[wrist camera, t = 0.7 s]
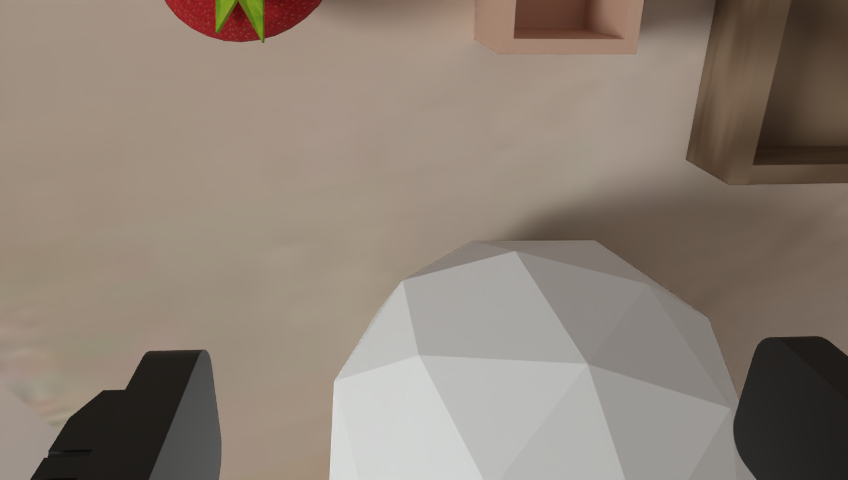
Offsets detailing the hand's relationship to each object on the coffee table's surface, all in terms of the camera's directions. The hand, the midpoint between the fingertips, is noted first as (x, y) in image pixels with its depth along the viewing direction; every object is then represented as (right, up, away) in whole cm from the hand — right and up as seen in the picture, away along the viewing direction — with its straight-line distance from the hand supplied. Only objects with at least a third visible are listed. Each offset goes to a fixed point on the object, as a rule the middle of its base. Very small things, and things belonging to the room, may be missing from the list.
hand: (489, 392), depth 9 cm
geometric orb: (+3, -3, +30) cm, 30 cm away
